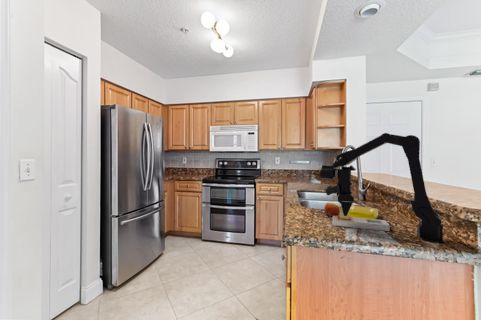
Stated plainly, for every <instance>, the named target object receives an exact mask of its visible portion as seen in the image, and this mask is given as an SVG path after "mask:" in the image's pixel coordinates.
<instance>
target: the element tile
mask: <svg viewBox="0 0 481 320" xmlns="http://www.w3.org/2000/svg"><path fill="white" fill-rule="evenodd" d="M349 217H353V218H364V219H376V220H378V217H379V209H378V208H375V207H367V206H358V205H352V206H351V208H350V210H349Z"/></svg>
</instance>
